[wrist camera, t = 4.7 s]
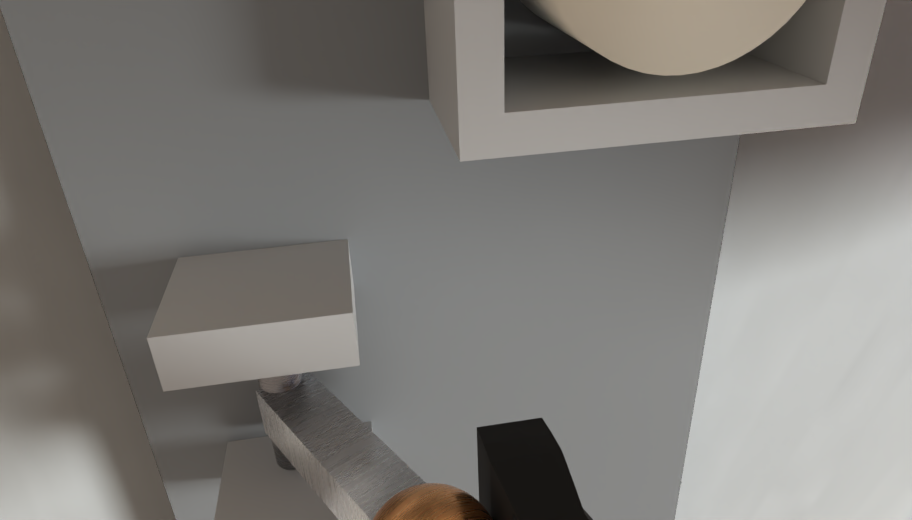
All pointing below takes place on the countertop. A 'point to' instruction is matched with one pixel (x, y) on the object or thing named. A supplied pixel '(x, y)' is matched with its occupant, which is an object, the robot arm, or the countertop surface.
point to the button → (668, 29)
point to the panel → (408, 224)
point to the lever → (350, 458)
